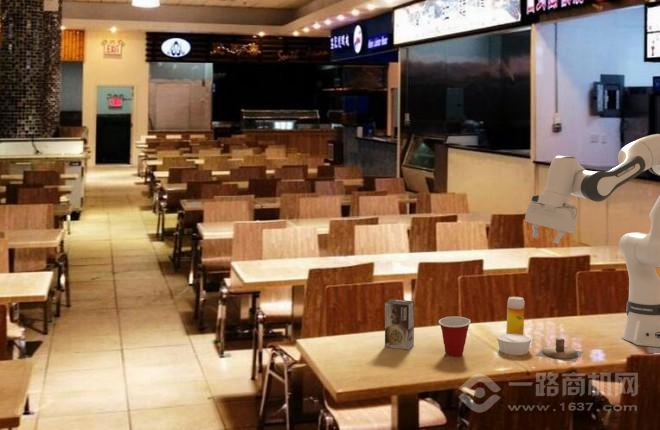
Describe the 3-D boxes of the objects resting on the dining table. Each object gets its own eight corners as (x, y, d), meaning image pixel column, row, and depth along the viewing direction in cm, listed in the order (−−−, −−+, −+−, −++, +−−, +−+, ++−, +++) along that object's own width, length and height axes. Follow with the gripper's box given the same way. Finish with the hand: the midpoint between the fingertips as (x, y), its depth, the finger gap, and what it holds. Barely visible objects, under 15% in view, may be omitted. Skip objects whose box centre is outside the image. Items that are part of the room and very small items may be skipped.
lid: (580, 351, 264) (581, 337, 264) (573, 360, 254) (573, 346, 254) (547, 346, 270) (547, 332, 269) (538, 355, 260) (539, 341, 259)
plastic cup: (431, 353, 263) (431, 319, 262) (453, 347, 270) (454, 314, 268) (454, 361, 255) (455, 326, 253) (476, 355, 261) (477, 321, 260)
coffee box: (414, 345, 272) (415, 301, 270) (408, 350, 267) (409, 304, 265) (390, 342, 276) (391, 298, 274) (383, 346, 270) (384, 302, 268)
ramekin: (492, 354, 263) (493, 339, 263) (503, 346, 273) (503, 331, 272) (524, 359, 257) (525, 344, 257) (534, 351, 267) (535, 336, 266)
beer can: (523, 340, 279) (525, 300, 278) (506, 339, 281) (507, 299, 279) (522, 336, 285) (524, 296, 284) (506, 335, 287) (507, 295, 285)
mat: (583, 353, 265) (583, 351, 264) (574, 363, 253) (574, 361, 253) (545, 347, 271) (545, 345, 271) (535, 357, 260) (535, 355, 260)
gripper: (584, 207, 257) (574, 247, 258) (539, 198, 274) (530, 235, 275) (572, 204, 253) (562, 245, 254) (527, 195, 271) (518, 233, 272)
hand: (545, 240), depth 265 cm, fingers open, 8 cm apart
